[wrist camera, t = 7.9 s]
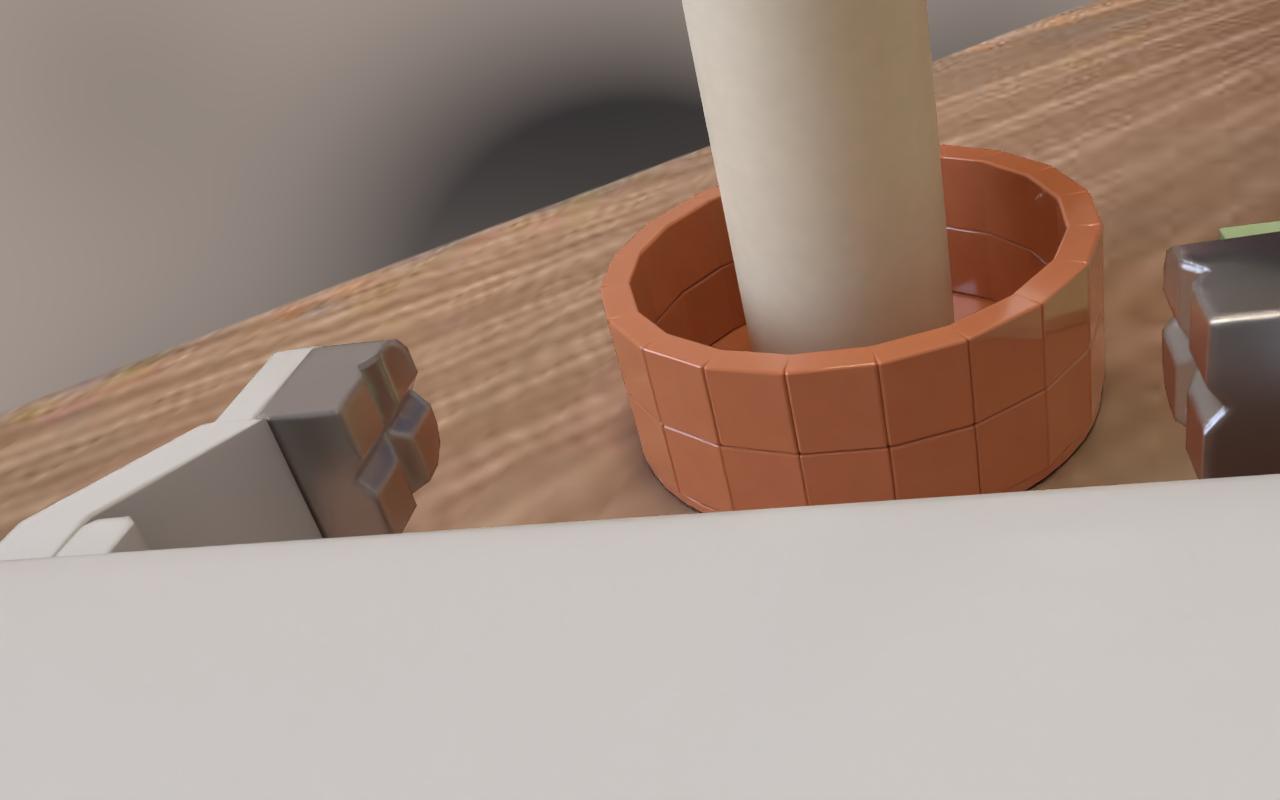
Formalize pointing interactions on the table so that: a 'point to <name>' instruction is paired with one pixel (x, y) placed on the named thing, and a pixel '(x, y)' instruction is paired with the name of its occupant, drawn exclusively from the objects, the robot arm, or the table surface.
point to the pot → (871, 357)
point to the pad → (1248, 230)
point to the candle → (826, 167)
